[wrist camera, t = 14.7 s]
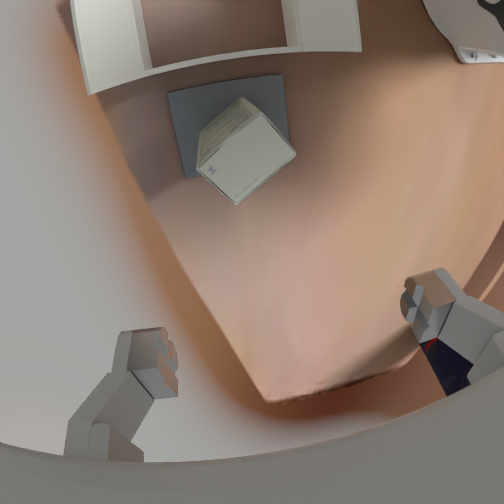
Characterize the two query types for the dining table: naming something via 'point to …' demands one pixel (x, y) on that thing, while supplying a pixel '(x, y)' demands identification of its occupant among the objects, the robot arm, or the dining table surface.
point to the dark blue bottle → (447, 365)
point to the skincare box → (241, 150)
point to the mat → (216, 101)
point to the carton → (139, 61)
